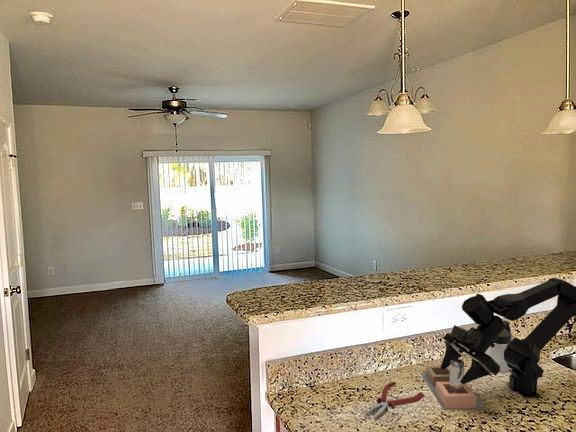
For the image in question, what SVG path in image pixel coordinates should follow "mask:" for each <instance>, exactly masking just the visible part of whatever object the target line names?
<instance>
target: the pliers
mask: <svg viewBox="0 0 576 432" xmlns="http://www.w3.org/2000/svg"><path fill="white" fill-rule="evenodd" d="M395 385H397V383H396V382H395V381H390V382H389V383H387V384H385V386H383V389H382V394H381V397H377V398H376V404H374V406H373V407H371V408H370V409H369V410H368V411H367V412H366V413H365V414H364V416H369V415H372V414H375V415H373V420H375V419H377V418H379V417H381V416H383V415H384V414H385V413H386V412H387V411H388V410H389V408H388V407H390V408H392V409H395V408H396V406H401V405H408V404H414V403H417V402H419V401H420V400H421V399H423V398H424V397H425V394H424V393H423V392H421V391H420V392H418V393H417V394H416V395H414V396H410V397H404V398H398V399H391V400H387V394H388V390H389V389H390V388H392V387H394V386H395Z"/></svg>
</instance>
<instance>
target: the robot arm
mask: <svg viewBox="0 0 576 432" xmlns="http://www.w3.org/2000/svg"><path fill="white" fill-rule="evenodd" d="M556 297H557V298H556ZM554 298H556V299H557V300H556V305H555V306H554V307H553V309H552V310H551V311H550V312H549V313H548V314H547V315H546V316H545V317H544V318H543V319H542V320H541V321H540V322H539V324H538V325H537V326H536V327H534V329H533V330H532V331H531V332H530V333H529V334H527V336H526V337H525V338H522V339H520V338H518V337H517V336H516V337H514V338H513V339H512V341H511V342H510V343H509V344H508V345H506V347H507V348H506V349H505V350H504V360H505V362H506V363H507V367H509V368H511V369H510V371H511V372H510V375H509V376H508V377H509V380H508V388H509V389H510V390H511V391H513V392H516V393H518V394H520V396H522V397H523V398H536V397H537V398H540V396H541V394H540V393H539V392H538V379H539V378H540V379H541V378H542V377H543V376H544V375H543V374H544V371H545V370H544V369H543V368H542V366H540V365H539V361H540V358H541V351H542V350H543V349H544V347H546V345H548V344H549V342H550V341H552V339H553V338H554V337H555V336H556V335H557V333H559V331H560V330H562V329H563V327H564V326H566V324H567V323H569V321H570V320H571V319H572V318H573V317H576V285H573V284H571V283H570V282H568V281H567V280H564V279H561V278H557V277H550V278H549V279H548V280H546V281H545V282H542V283H540V284H537V285H534V286H533V287H530V288H527V289H525V290H523V291H521V292H518V293H517V292H516V293H506V294H505V293H504V294H501V295H498V296H496V297H494V298H493V299H490V300H487V299H486V297H485V296H484V295H483V294H480V293H477V294H475V295H474V296H470V297H469V298H468V297H467V299H465V300H463V302H462V305H461V309H462V311H463V313H465V314H466V315H467V317H468V318H470V319H471V320H472V321H473V323H475V324H477V326H476V328H475V327H469V329H468V330H467V329H466V328H463V327H460V326H458V325H455V324H454V325H453V327H452V329H451V332H448V333H445V334H444V336H443V337H442V339H443V343H444V345H445V353H444V357H443V358H442V359H443V360H442V362H441V365H440V366H441V368H442V369H443V370H444V369H445V368H447V367H448V366H449V367H450V361H451V359H460V358H461V357H462V354H463V353H464V354H467V355H468V356H469V357H472V358H471V363H470V364H471V365H470V366H469V368H468V370H467V371H466V372H464V375H463V378H462V379H461V381H460V382H461V383H462V384H468V383H470V382H473V381H475V380H477V379H480V378H484V377H487V376H490V377H491V376H492V375H493V376H497V375H498V374H499V371H500V365H499V364H498V363H497V362H496V361H495V360H494V359H493V358H492V357H491V356H489V355H487V354H486V353H485V352H486V351H487V349H488V348H489V347H492V348H494V346H495V345H494V344H493V342H494V341H495V340H496V338H497V337H498V336H499V335H500V333H501V332H502V331H503V330H505V331H507V332H509V333H510V332H511V333H512V331H511V330H512V329H511V326H510V325H511V324H510V322H509V321H512V322H514V321H518V320H520V319H521V318H523V317H524V316H525V315H526V314H527V312H528V310H530V309H531V308H533V307H535V306H537V305H539V304H542V303H545V302H546V301H548V300H551V299H554ZM495 314H496V315H495ZM501 317H502V318H504V319H506V320H503V319H502V318H501ZM507 320H509V321H507Z"/></svg>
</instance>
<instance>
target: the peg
mask: <svg viewBox="0 0 576 432" xmlns="http://www.w3.org/2000/svg"><path fill="white" fill-rule="evenodd" d="M449 367H450V381H449V394H458V393H463V384H462V383H461V382H460V381H461V379H462V378H463V376H464V375H465V371H464V369H465V361H464V360H462V359H460V358H458V359H451V361H450V366H449Z"/></svg>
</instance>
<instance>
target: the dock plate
mask: <svg viewBox="0 0 576 432" xmlns="http://www.w3.org/2000/svg"><path fill="white" fill-rule="evenodd" d="M420 375H421V377H422V379H424V381H425V383H426V384H427V387H428V388H429V389H430V391H431V393H432V394H433V396H434V398H435V399H436V401H437V402H438V404H439V405H440V407H441V409H442V411H482V410H483V411H487V410H488V408H487V407H486V406H485V404H484V403H483V402H482V401H481V400H480V398H479V397H478V396H477V395H476V393H475V392H474V391H473V393H474V394H475V395H476V408H448V409H445V407H444V406H443V404H442V402H441V401H440V399H439V398H438V396H437V395H436V382H449V381H450V366H448V367H447V368H445V369H444V370H443V369H442V368H441V365H426V366H425V372H420ZM469 388H470V389H471V387H470V386H469ZM471 390H472V389H471Z"/></svg>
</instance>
